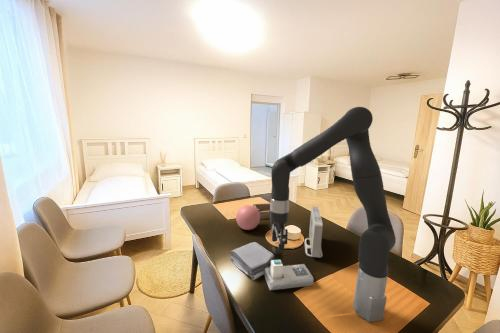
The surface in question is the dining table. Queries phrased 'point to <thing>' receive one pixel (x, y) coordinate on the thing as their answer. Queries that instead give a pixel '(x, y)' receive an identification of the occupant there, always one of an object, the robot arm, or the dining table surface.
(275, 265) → the plug
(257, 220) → the pink rubber ball
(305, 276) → the patch panel
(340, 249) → the dining table surface
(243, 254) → the towel
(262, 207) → the coaster tray
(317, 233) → the network device
